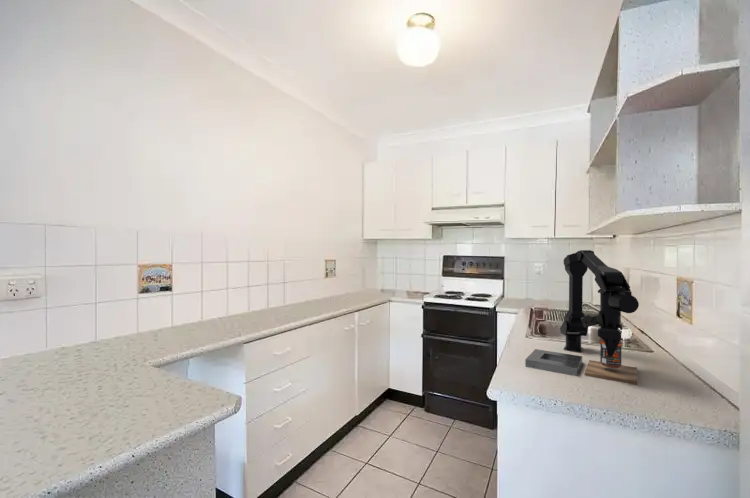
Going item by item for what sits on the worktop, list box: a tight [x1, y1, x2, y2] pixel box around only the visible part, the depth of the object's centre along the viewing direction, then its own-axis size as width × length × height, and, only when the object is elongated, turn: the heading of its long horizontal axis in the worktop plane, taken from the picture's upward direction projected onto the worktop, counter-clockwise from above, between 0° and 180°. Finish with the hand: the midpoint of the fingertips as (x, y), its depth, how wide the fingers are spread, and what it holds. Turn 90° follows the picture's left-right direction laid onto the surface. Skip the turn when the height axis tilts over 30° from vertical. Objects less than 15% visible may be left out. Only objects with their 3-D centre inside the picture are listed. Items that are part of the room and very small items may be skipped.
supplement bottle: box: [599, 338, 623, 368], centre depth 116 cm, size 6×6×11 cm
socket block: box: [524, 348, 583, 376], centre depth 124 cm, size 16×16×2 cm
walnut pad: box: [584, 359, 639, 386], centre depth 116 cm, size 16×14×1 cm
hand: (610, 353), depth 116 cm, fingers closed on supplement bottle, 6 cm apart
